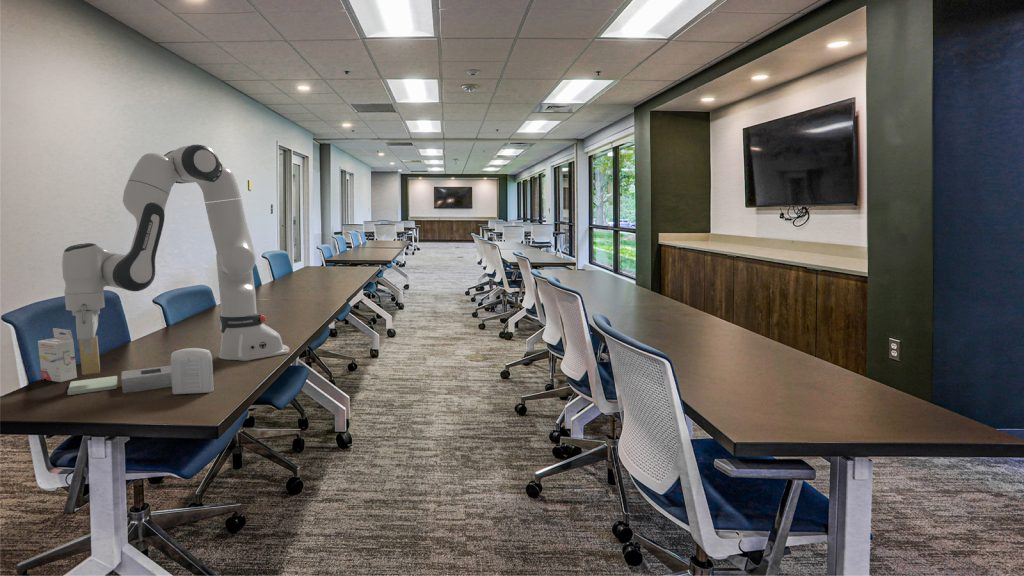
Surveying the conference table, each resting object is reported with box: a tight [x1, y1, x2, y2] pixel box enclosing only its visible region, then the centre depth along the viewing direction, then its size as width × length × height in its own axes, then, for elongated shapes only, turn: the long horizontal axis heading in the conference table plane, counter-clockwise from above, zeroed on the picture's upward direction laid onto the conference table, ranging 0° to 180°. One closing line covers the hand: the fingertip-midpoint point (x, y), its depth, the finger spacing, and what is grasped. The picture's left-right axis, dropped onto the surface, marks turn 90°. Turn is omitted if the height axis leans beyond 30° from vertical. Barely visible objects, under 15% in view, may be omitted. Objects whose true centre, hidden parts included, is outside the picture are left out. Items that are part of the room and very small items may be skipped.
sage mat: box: [67, 375, 118, 396], centre depth 167 cm, size 11×11×1 cm
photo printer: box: [170, 347, 215, 395], centre depth 161 cm, size 10×4×12 cm, turn 103°
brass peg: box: [78, 334, 101, 376], centre depth 166 cm, size 4×4×10 cm
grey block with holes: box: [120, 364, 172, 394], centre depth 169 cm, size 18×9×4 cm, turn 122°
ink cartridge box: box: [37, 327, 78, 383], centre depth 174 cm, size 9×5×15 cm, turn 71°
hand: (89, 350), depth 166 cm, fingers closed on brass peg, 4 cm apart
